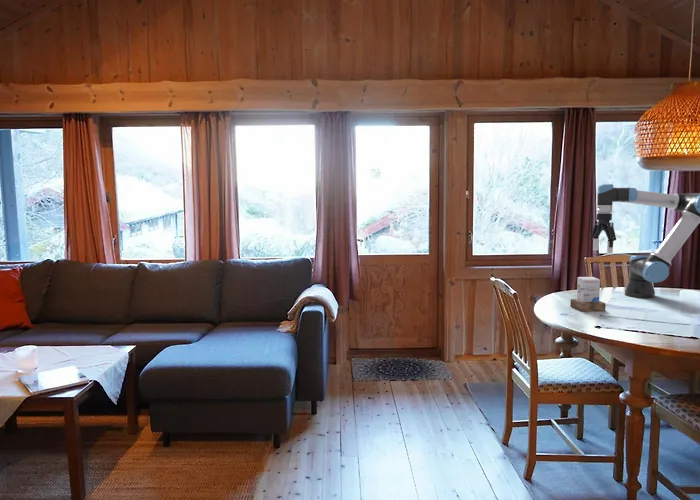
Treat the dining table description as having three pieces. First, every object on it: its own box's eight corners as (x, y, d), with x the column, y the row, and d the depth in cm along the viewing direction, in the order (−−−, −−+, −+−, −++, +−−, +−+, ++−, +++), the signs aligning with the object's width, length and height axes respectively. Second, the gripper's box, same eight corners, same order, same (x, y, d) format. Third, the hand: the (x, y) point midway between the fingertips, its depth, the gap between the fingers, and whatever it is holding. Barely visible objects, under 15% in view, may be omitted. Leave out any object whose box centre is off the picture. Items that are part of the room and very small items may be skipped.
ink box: (593, 298, 269) (594, 276, 267) (599, 302, 260) (600, 279, 259) (576, 298, 270) (577, 276, 268) (582, 302, 261) (583, 279, 260)
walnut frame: (592, 305, 272) (592, 297, 271) (605, 311, 260) (605, 302, 259) (570, 306, 271) (570, 298, 270) (582, 311, 259) (582, 303, 258)
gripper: (585, 212, 292) (583, 249, 295) (611, 214, 267) (609, 254, 270) (598, 211, 293) (596, 249, 295) (624, 213, 268) (622, 254, 270)
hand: (602, 251), depth 282 cm, fingers open, 13 cm apart
